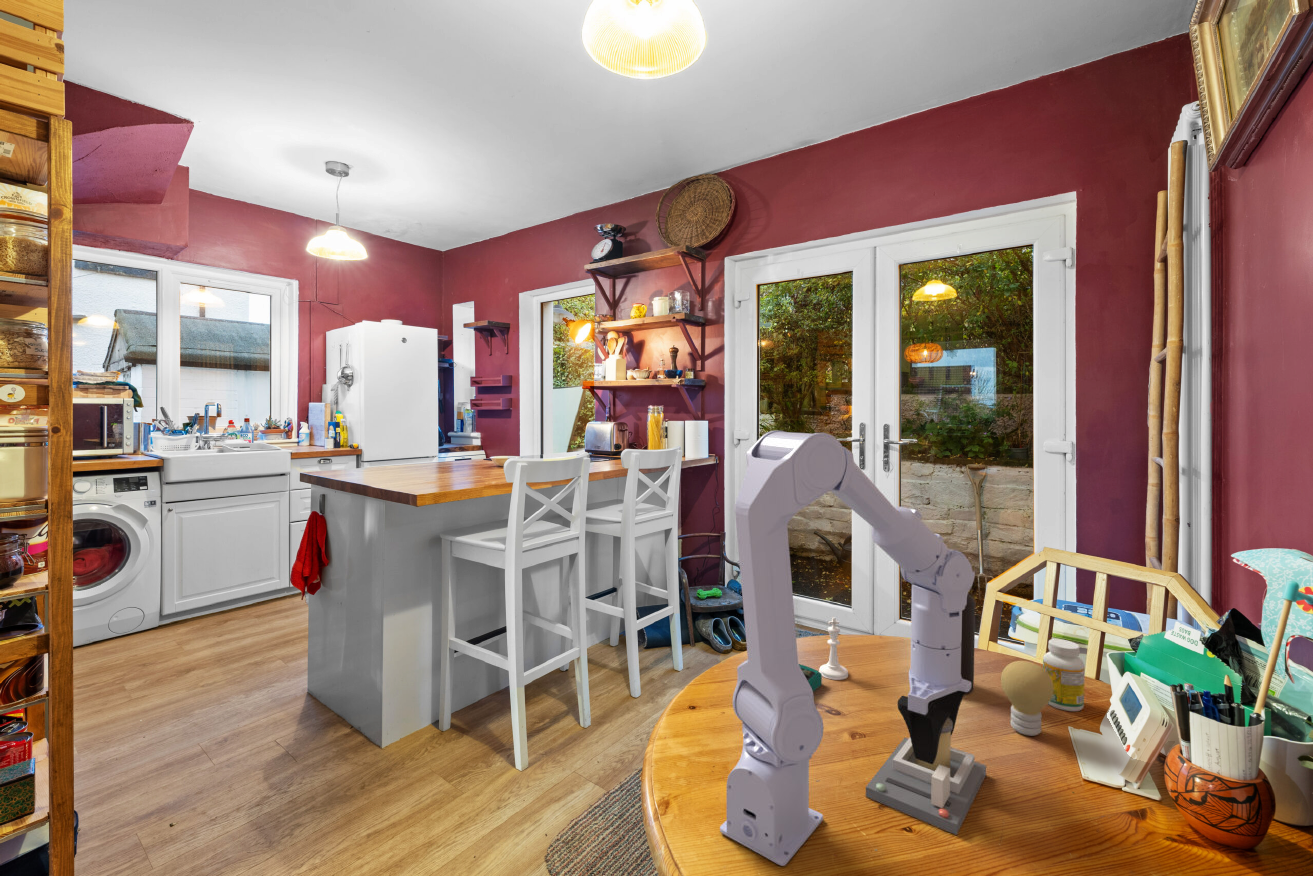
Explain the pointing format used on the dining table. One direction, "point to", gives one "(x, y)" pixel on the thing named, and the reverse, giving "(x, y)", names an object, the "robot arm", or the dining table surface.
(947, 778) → the lever
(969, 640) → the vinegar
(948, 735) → the beige cylinder
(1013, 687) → the light bulb
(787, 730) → the robot arm
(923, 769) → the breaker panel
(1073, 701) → the supplement bottle
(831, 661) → the chess piece
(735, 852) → the dining table surface
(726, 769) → the dining table surface
